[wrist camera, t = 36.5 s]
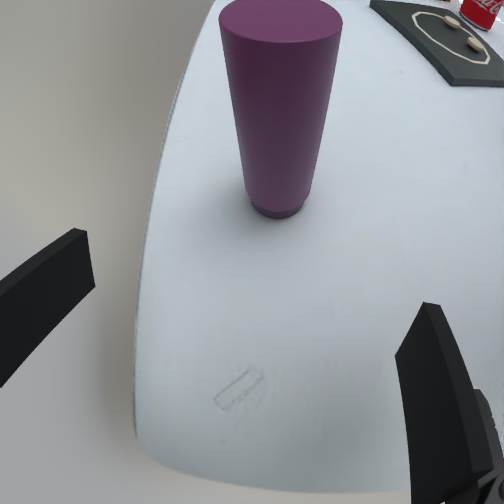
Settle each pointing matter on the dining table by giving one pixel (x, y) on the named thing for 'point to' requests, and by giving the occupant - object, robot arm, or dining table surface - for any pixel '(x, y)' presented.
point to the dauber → (279, 93)
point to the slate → (444, 43)
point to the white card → (496, 16)
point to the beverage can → (481, 12)
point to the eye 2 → (475, 44)
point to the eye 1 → (451, 22)
